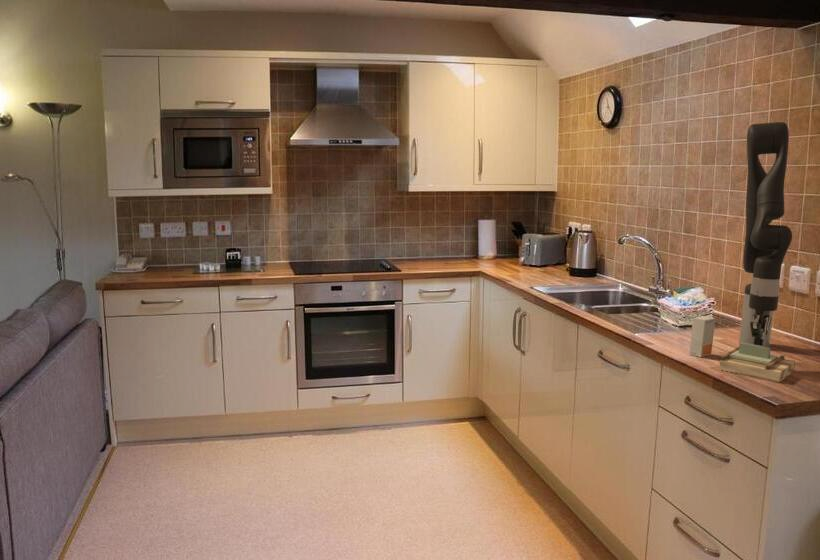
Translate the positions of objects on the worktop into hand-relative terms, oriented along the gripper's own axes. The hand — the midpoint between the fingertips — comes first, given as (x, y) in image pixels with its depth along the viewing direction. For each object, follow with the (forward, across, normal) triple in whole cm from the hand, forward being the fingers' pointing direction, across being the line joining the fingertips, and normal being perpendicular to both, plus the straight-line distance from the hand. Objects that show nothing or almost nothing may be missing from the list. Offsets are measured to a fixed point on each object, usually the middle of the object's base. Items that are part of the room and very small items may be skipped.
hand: (757, 350), depth 205 cm
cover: (+2, +3, 0) cm, 3 cm away
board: (+5, +4, +1) cm, 7 cm away
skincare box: (+5, -1, -17) cm, 17 cm away
